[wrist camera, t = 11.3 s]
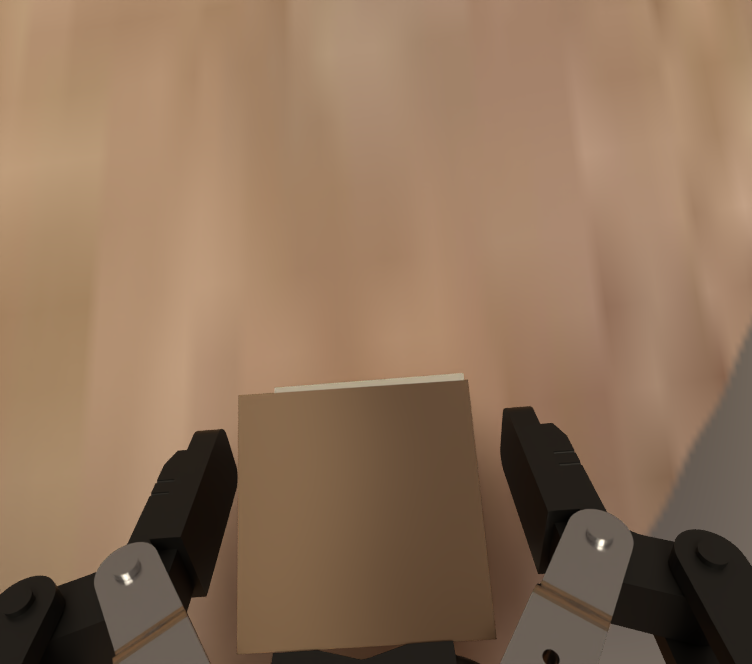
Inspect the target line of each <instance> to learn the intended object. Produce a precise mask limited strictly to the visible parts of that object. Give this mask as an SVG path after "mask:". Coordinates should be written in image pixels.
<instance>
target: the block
mask: <svg viewBox="0 0 752 664" xmlns="http://www.w3.org/2000/svg"><path fill="white" fill-rule="evenodd" d="M491 639H497V638H496V629H495V620H494V611H493V602H492V593H491V584H490V575H489V566H488V557H487V548H486V539H485V530H484V521H483V512H482V503H481V494H480V485H479V476H478V467H477V458H476V449H475V440H474V431H473V422H472V413H471V404H470V395H469V386H468V380H457V381H443V382H428V383H413V384H399V385H384V386H369V387H355V388H340V389H325V390H310V391H296V392H281V393H266V394H252V395H239V397H238V552H237V654H253V653H270V652H287V651H304V650H321V649H338V648H355V647H372V646H389V645H406V644H412V643H426V642H440V641H453V642H457V641H474V640H491Z"/></svg>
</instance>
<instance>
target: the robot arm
mask: <svg viewBox="0 0 752 664" xmlns="http://www.w3.org/2000/svg"><path fill="white" fill-rule="evenodd" d="M500 453H501V461H502V466H503V470H504V473H505V476H506V479H507V482H508V485H509V488H510V491H511V494H512V497H513V500H514V503H515V506H516V509H517V512H518V515H519V518H520V521H521V524H522V527H523V530H524V533H525V536H526V539H527V542H528V545H529V548H530V551H531V554H532V557H533V560H534V563H535V566H536V569H537V572H538V574H545V575H544V578H543V580H542V582H541V583H540V584H537V585H536V586H535V588H534V590H533V592H532V594H531V596H530V598H529V600H528V603H527V605H526V607H525V609H524V611H523V614H522V616H521V618H520V620H519V623H518V625H517V627H516V629H515V632H514V634H513V636H512V638H511V640H510V643H509V645H508V647H507V649H506V652H505V654H504V656H503V658H502V660H501V663H500V664H598V663H599V660H600V656H601V653H602V650H603V646H604V643H605V640H606V636H607V633H608V630H609V626H610V623H611V624H615V625H619V626H623V627H626V628H630V629H635V630H638V631H642V632H646V633H650V634H653V635H654V637H655V639H656V641H657V644H658V646H659V649H660V651H661V653H662V655H663V658H664V660H665V662H666V664H752V566H751V565H750V563H749V562H748V560H747V559H746V557H745V556H744V555H743V553H742V552H741V551H740V550H739V549H738V548H737V547H736V546H735V545H734V544H732V543H731V542H730V541H728V540H727V539H725V538H723V537H721V536H719V535H717V534H715V533H712V532H708V531H705V530H696V529H695V530H687V531H684V532H682V533H681V534H679V535H678V536H677V538H676V539H675V542H673V541H668V540H663V539H658V538H653V537H648V536H644V535H640V534H637V533H635V532H632V531H630V530H629V529H628V528H627V526H626V525H625V524H624V523H623V522H622V521H621V520H619V519H618V518H617V517H615V516H614V515H612V514H610V513H607V511H606V509H605V508H604V506H603V504H602V502H601V500H600V498H599V496H598V494H597V492H596V490H595V489H594V487H593V485H592V483H591V481H590V479H589V477H588V475H587V473H586V471H585V470H584V468H583V466H582V465H581V463H580V460H579V458H578V456H577V454H576V453H575V452H574V449H573V447H572V445H571V443H570V441H569V439H568V437H567V435H566V434H564V433H563V432H562V431H561V430H560V429H559V428H557V427H556V426H555V425H554V424H553V423H546V424H540V422H539V420H538V418H537V416H536V414H535V412H534V410H533V408H532V407H531V406H527V407H514V408H505V409H504V410H503V418H502V432H501V446H500ZM237 479H238V477H237V467H236V464H235V461H234V457H233V454H232V451H231V448H230V444H229V441H228V438H227V435H226V432H225V431H224V430H223V429H218V430H205V431H196V432H195V433H194V435H193V437H192V440H191V442H190V444H189V447H188V449H187V450H181V451H177V452H176V453H175V454H174V455H173V456H172V457H171V458H170V459H169V460H168V461H167V463H166V464H165V465H164V466H163V469H162V471H161V473H160V475H159V477H158V479H157V483H156V484H155V486H154V488H153V490H152V492H151V496H150V497H149V499H148V501H147V503H146V505H145V507H144V510H143V512H142V514H141V516H140V518H139V520H138V522H137V525H136V527H135V529H134V531H133V533H132V535H131V537H130V540H129V542H128V544H127V545H125V546H123V547H121V548H119V549H117V550H116V551H114V552H113V553H112V554H110V555H109V556H108V557H107V558H106V559H105V560H104V561H103V562H102V564H101V565H100V567H99V568H98V570H97V572H95V573H93V574H90V575H88V576H85V577H82V578H79V579H77V580H74V581H71V582H68V583H65V584H62V585H60V586H56V584H55V583H54V582H53V580H52V579H51V578H49V577H46V576H33V577H29V578H26V579H23V580H21V581H19V582H17V583H15V584H14V585H12V586H11V587H9V588H8V589H6V590H5V591H4V592H3V593H1V594H0V664H211V663H210V661H209V659H208V656H207V654H206V652H205V650H204V648H203V646H202V644H201V642H200V640H199V637H198V635H197V633H196V631H195V629H194V627H193V625H192V623H191V620H190V618H189V616H188V614H187V610H188V607H189V603H190V600H191V597H205V596H207V593H208V589H209V586H210V582H211V578H212V575H213V571H214V568H215V564H216V560H217V557H218V553H219V550H220V546H221V542H222V539H223V535H224V532H225V528H226V524H227V521H228V517H229V514H230V510H231V506H232V503H233V499H234V496H235V492H236V488H237ZM271 664H480V663H478V662H476V661H474V660H471V659H468V658H465V657H462V656H457V655H455V650H454V643H453V641H440V642H426V643H412V644H406V645H404V646H401V647H398V648H395V649H393V650H390V651H387V652H384V653H382V654H379V655H376V656H373V657H371V658H368V659H363V660H360V659H355V658H350V657H346V656H341V655H337V654H332V653H328V652H323V651H319V650H312V651H297V652H283V653H273V656H272V663H271Z"/></svg>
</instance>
